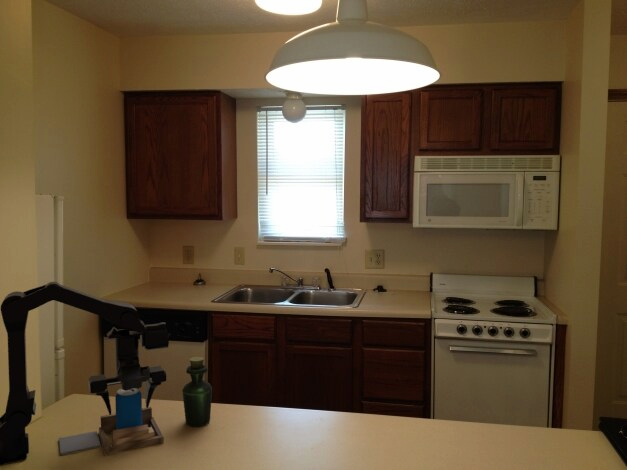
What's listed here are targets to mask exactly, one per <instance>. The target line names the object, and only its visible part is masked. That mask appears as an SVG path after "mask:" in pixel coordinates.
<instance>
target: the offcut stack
mask: <svg viewBox="0 0 627 470" xmlns="http://www.w3.org/2000/svg"><path fill="white" fill-rule="evenodd" d="M151 437H156V435H155V433H154V430H153V429H152V427H151V426H150V427H149V425H141V426H135V427H129V428H124V429H118V430H113V432H112V439H111V440H110V446H114V445H118V444H123V443H128V442H132V441H137V440H142V439H146V438H151Z"/></svg>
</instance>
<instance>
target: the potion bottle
mask: <svg viewBox="0 0 627 470" xmlns="http://www.w3.org/2000/svg"><path fill="white" fill-rule="evenodd" d="M204 360H205V358H204V357H202V356H193V357H191V358H189V362H190V365H189V366H187V368H186V369H185V370H186V374H188V375H189V376H190V378H191V381H190V382H188V383H186V384H184V387H183V388H182V390H181V392H182V393H181V394H182V400H183V401H182V402H183V411H184V417H185V423H186V425H187V426H189V427H192V428H200V427H204V426H206V425H207V424H209V423H210V421H211V412H212V411H211V408H212V398H213V397H212V396H213V386H212V385H211V383H210V382H207V381H205V380H203V378H204V376H205V375H204V374H205V373H207V372H208V370H209V369H208V367H207V365H206V364H204Z"/></svg>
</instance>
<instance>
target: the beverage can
mask: <svg viewBox="0 0 627 470" xmlns="http://www.w3.org/2000/svg"><path fill="white" fill-rule="evenodd" d="M140 390H141V388H134V389H129V390H123V389H122V388H120V389H117V391H116V395H115V396H114V398H115V399H114V400H115V413H116V430H118V429H124V428H129V427H135V426H141V425H142V408H143V401H142V399H143V398H142V395H143V394H142V392H141V391H140Z"/></svg>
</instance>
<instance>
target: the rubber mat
mask: <svg viewBox="0 0 627 470" xmlns="http://www.w3.org/2000/svg"><path fill="white" fill-rule="evenodd" d="M58 441H59V451H60V456H64V455H68V454H74V453H78V452H79V453H80V452H83V451H87V450H93V449H98V448H101V446H102V445H101V442H100V441H101V440H100V437H99V433H98V431H97V430H93V431H90V432H84V433H79V434H74V435H70V436H69V435H68V436H63V437H59V438H58Z"/></svg>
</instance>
